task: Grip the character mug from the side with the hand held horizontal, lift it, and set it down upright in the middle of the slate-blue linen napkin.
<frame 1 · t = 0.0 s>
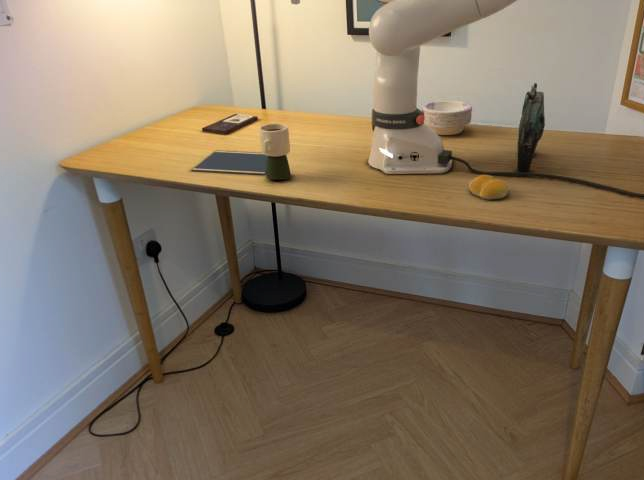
hand: (301, 1, 135), 39 cm above the table, tool pointing down, fingers open, 8 cm apart
chocolate bar: (231, 125, 184), on the table
bread roll: (487, 194, 133), on the table
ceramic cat: (526, 163, 151), on the table
character mug: (278, 178, 143), on the table
napkin: (238, 162, 153), on the table
paper bowls: (445, 132, 175), on the table
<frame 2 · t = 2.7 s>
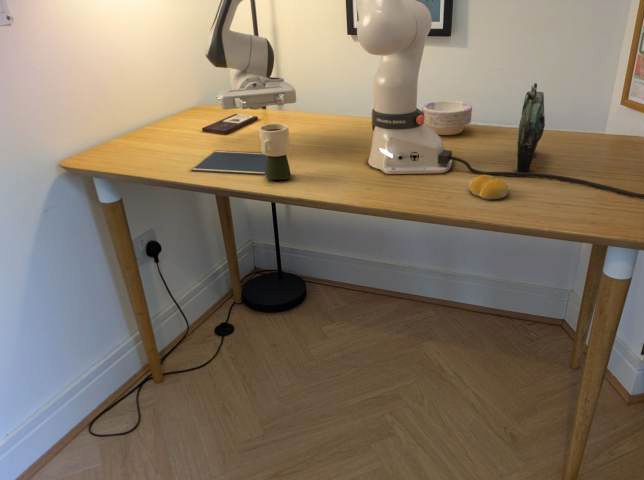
hand: (262, 104, 145), 16 cm above the table, tool horizontal, fingers open, 8 cm apart
nothing on the table moved.
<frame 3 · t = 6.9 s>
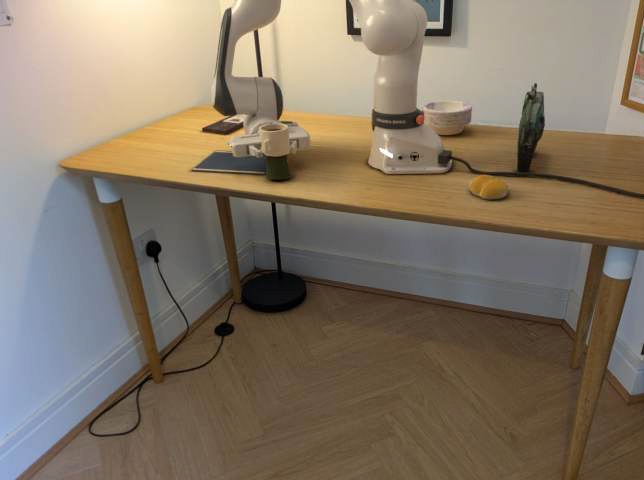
hand: (276, 152, 139), 7 cm above the table, tool horizontal, fingers closed on character mug, 7 cm apart
character mug: (278, 178, 143), on the table, touching gripper
everything else where it was.
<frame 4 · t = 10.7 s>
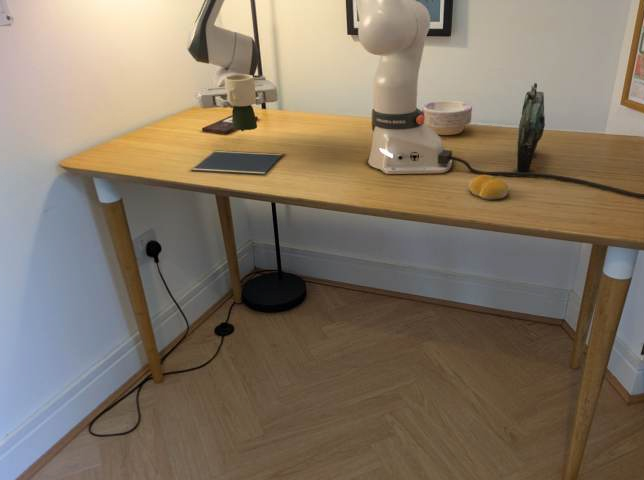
hand: (242, 102, 140), 17 cm above the table, tool horizontal, fingers closed on character mug, 7 cm apart
character mug: (245, 130, 145), point 10 cm above the table, touching gripper
everything else where it was.
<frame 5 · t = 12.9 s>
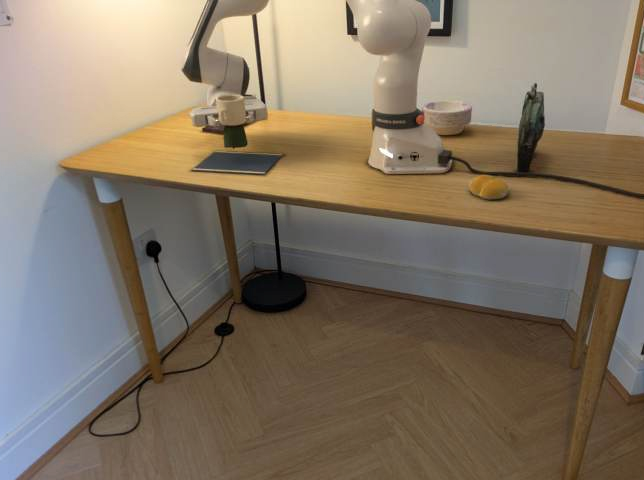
hand: (233, 122, 147), 11 cm above the table, tool horizontal, fingers closed on character mug, 7 cm apart
character mug: (236, 147, 151), point 4 cm above the table, touching gripper
everything else where it was.
when the fingers open (7 cm above the table, at t = 14.7 s): character mug stays where it is, resting on napkin.
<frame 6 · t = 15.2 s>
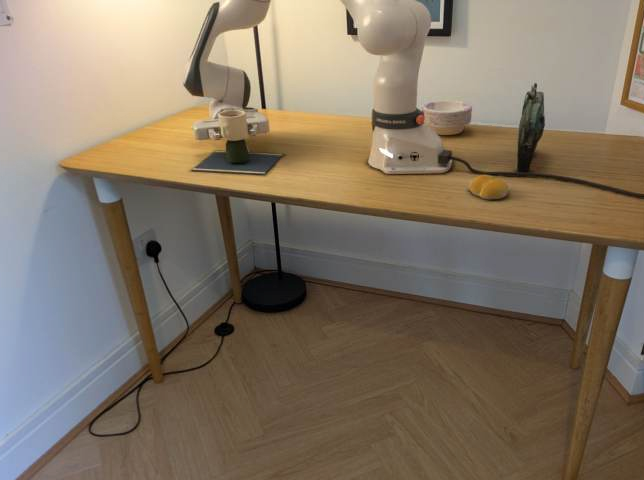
hand: (235, 135, 149), 8 cm above the table, tool horizontal, fingers open, 8 cm apart
character mug: (238, 162, 153), resting on napkin
everything else where it was.
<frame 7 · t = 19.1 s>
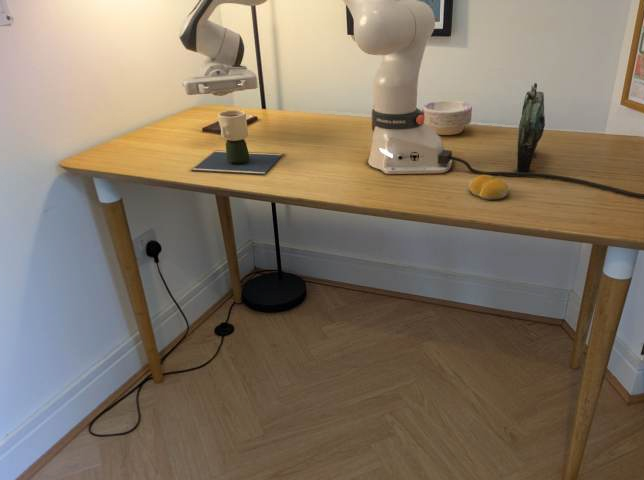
hand: (224, 89, 154), 17 cm above the table, tool horizontal, fingers open, 8 cm apart
nothing on the table moved.
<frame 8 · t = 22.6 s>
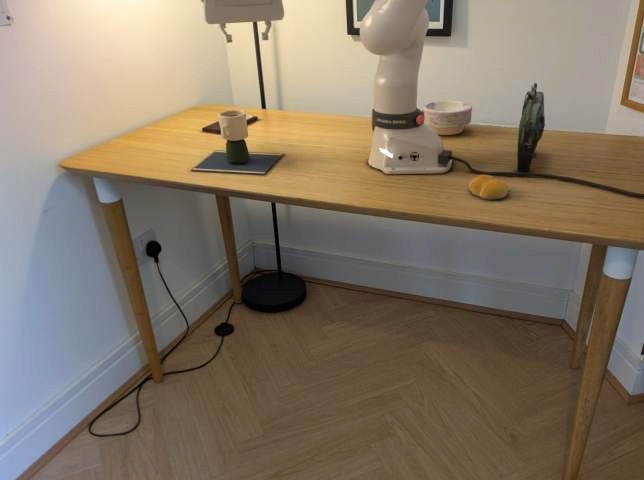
hand: (247, 41, 147), 29 cm above the table, tool pointing down, fingers open, 8 cm apart
nothing on the table moved.
at the end: character mug inside the target area on the napkin (0.1 cm from its centre), point 0.1 cm above the napkin's base; character mug tilted 0°; the gripper is holding nothing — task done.
